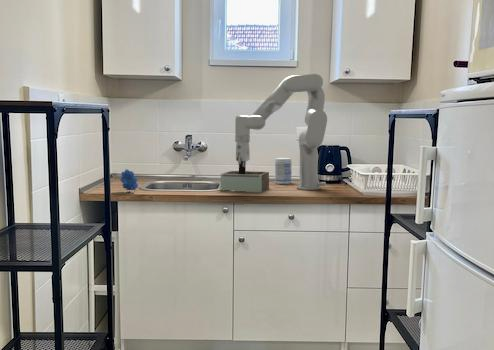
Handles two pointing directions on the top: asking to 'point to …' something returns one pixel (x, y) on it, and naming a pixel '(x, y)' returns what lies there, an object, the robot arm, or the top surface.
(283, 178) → the supplement tub
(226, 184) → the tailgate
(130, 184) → the grapes
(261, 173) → the crate
